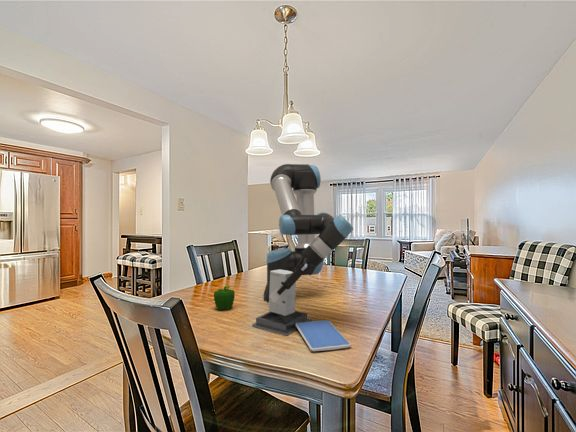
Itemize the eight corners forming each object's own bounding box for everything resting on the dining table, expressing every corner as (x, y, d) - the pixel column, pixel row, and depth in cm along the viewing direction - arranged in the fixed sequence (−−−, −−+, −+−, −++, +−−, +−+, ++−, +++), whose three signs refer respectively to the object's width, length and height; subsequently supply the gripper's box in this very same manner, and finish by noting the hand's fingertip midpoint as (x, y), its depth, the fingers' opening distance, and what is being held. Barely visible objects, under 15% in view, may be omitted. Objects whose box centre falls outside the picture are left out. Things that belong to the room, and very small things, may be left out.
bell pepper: (210, 309, 125) (210, 285, 125) (226, 304, 131) (226, 282, 131) (221, 313, 119) (221, 288, 119) (238, 308, 125) (237, 285, 125)
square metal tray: (252, 326, 104) (251, 318, 104) (278, 313, 118) (278, 306, 118) (286, 336, 96) (286, 326, 96) (311, 321, 109) (311, 313, 109)
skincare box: (268, 311, 107) (268, 270, 107) (279, 307, 111) (279, 268, 111) (286, 316, 101) (285, 273, 101) (296, 312, 106) (296, 271, 106)
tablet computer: (294, 325, 102) (294, 322, 102) (328, 322, 105) (328, 318, 105) (311, 353, 83) (311, 349, 83) (352, 348, 86) (352, 344, 86)
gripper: (326, 264, 94) (277, 313, 95) (323, 255, 116) (283, 295, 117) (309, 247, 95) (261, 296, 96) (309, 242, 117) (270, 281, 118)
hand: (273, 295), depth 107 cm, fingers closed on skincare box, 9 cm apart
